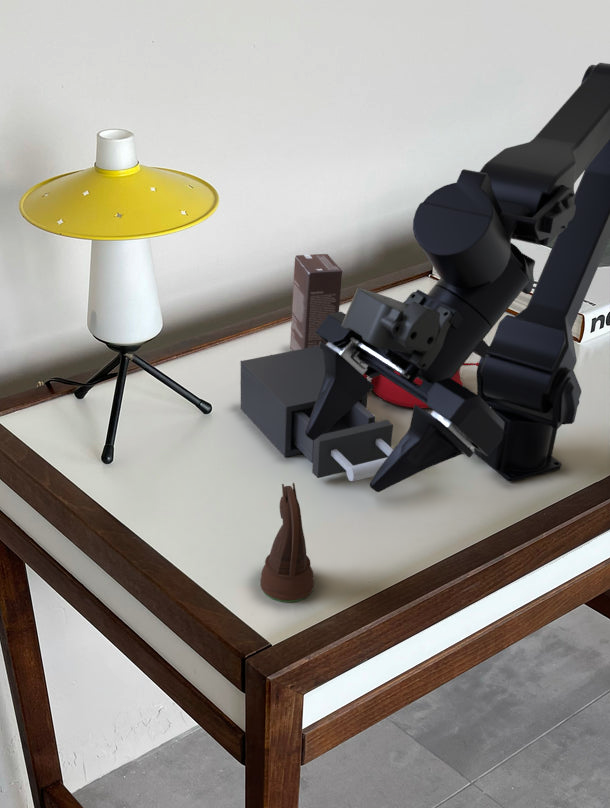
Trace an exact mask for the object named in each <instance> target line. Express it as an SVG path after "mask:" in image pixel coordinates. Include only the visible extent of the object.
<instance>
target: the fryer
mask: <svg viewBox="0 0 610 808" xmlns="http://www.w3.org/2000/svg"><path fill="white" fill-rule="evenodd" d="M324 373H325V364H324V356H323V352H322V351H321V350H320V349H319V347H318V346H314V347H309V348H304V349H299V350H294V351H292V350H290V351H285V352H280V353H275V354H270V355H264V356H259V357H253V358H249V359H244V360H241V361H240V410H241V411H242V412H243V413H244V414H245V416H247V418H249V420H250V421H251V422H252V423H253V424H254V425H255V426H256V427H257V428H258V430H260V432H261V433H262V434H263V435H264V436H265V437H266V438H267V439H268V440H269V442H270V443H271V444H272V445H273V446H274V447H275V448H276V449H277V450H278V451H279V452H280V454H281V455H282V456H283V457H285V458H287V457H291V456H295V455H300V454H303V453H302V452H301V451H300V450H299V449H298V448H297V447H296V445H295V444H294V443H293V442H292V441H291V428H292V412H293V411H298V410H302V409H307V408H311V407H314V405H315V403H316V400H317V397H318V394H319V391H320V388H321V385H322V381H323V377H324ZM368 394H369V392H368V393H367V394H366V395H365V396H364V397H363V398H362V399H361V400H360V401H359V402H360V403H361V404H362V405H363V406H364V407H365V408H366V409H368V407H367V406H368Z"/></svg>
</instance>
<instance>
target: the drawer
mask: <svg viewBox="0 0 610 808" xmlns="http://www.w3.org/2000/svg"><path fill="white" fill-rule="evenodd" d="M313 408H314V407H311V408H307V409H302V410H298V411H293V412H292V428H291V441H292V442H293V443H294V444H295V445H296V447H297V448H298V449H299V450H300V451H301V452H302V453H301V454H302V455H304V456H305V457H306V458H307V459H308V461H309V462H310V463H312V468H311V469H312V470H311V473H312V474H313V475H314V476H315V478H317V479H320V478H325V477H329V476H333V475H338V474H343V473H345V472H346V477H347V479H348V481H350V482H355V481H359V480H363V479H367V478H372V477H374V476H375V474H376V473H377V471H378V469H379V468H380V467H381V465H382V464H383V463H384V461H385V460H386V459H387V458H388V456H389V455H390V454H391V452H392V451H393V450H394V448H392V441H393V430H394V424H393V423H392V422H391V421H389V420H388V419H383V420H379V421H376V415H374V413H372V412H371V411H370V410H369V409H368V408H365V407H364V406H363V405H362V404H361V403H360V402H357V403H356V404H355V405H354V406H353V407H352V408H351V409H350V410H349V411H348V412H347V413H345V414H344V415H343V416H342V417H341V418H340V419H339V420H338V421H337V422H336V423H335V424H334V425H332V426H331V427H330V428H329V429H328V430H327V431H326V432H324V433H323V434H322V435H320V436H319V437H318V438H317V439H315V440H311V439H310V438H308V437H307V436H306V435H305V431H306V428H307V425H308V422H309V419H310V417H311V414H312V411H313Z"/></svg>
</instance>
